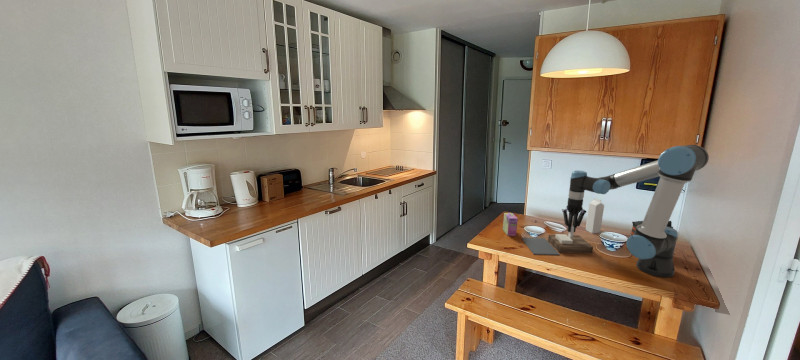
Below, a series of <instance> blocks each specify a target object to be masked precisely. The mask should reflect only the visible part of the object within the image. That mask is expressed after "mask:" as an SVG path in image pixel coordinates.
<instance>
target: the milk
mask: <svg viewBox="0 0 800 360" xmlns="http://www.w3.org/2000/svg"><path fill="white" fill-rule="evenodd" d="M604 210H605V204H603V203H602V199H598V198H596V197H594V198H593V200H592V201H590V202H589V204H588V209H587V216H586V225H585V231H587V232H589V233H590V234H601V228H602V222H603V216H604Z"/></svg>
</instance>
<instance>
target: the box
mask: <svg viewBox="0 0 800 360" xmlns="http://www.w3.org/2000/svg"><path fill="white" fill-rule="evenodd" d="M518 219H519V218H518V217H517V216H516V215H515V214H514V213H513V212H504V213H503V222H502V230H503V232H504V233H505V234H506V236H509V237H510V236H511V237H514V236H515V237H516V236H517V230H518V222H519V221H518Z"/></svg>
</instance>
